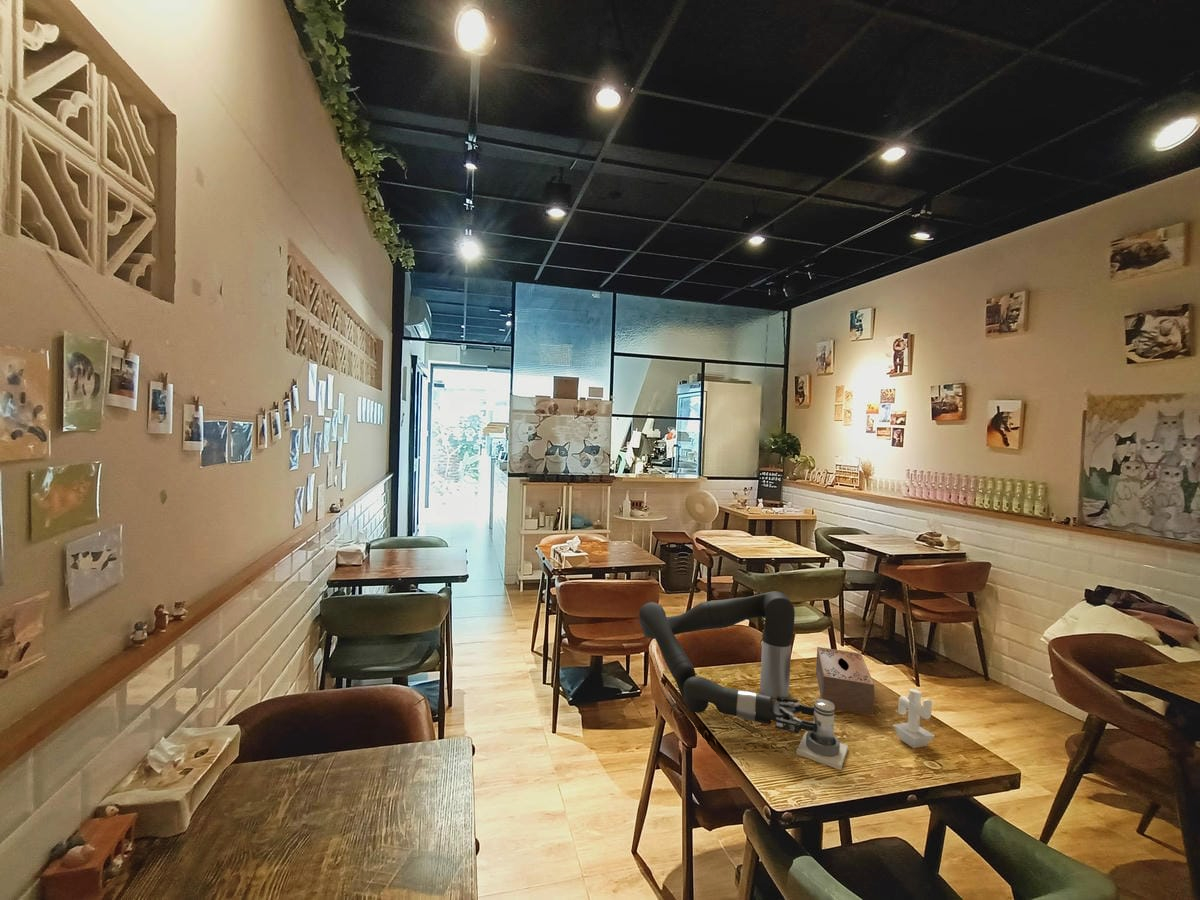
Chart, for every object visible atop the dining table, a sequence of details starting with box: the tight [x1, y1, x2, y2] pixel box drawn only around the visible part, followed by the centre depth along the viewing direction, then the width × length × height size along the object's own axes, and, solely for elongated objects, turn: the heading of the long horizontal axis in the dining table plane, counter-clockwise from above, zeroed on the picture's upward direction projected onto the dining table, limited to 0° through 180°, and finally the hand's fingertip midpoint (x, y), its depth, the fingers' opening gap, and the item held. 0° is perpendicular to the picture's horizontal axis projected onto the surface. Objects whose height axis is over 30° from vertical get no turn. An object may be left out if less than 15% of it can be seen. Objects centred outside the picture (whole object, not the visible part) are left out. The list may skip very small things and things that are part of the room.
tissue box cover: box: [815, 646, 875, 717], centre depth 174 cm, size 26×14×10 cm, turn 161°
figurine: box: [892, 688, 935, 749], centre depth 146 cm, size 7×9×15 cm
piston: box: [813, 698, 836, 746], centre depth 139 cm, size 5×5×12 cm
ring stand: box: [795, 730, 849, 771], centre depth 140 cm, size 11×11×4 cm
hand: (816, 719), depth 140 cm, fingers open, 8 cm apart
